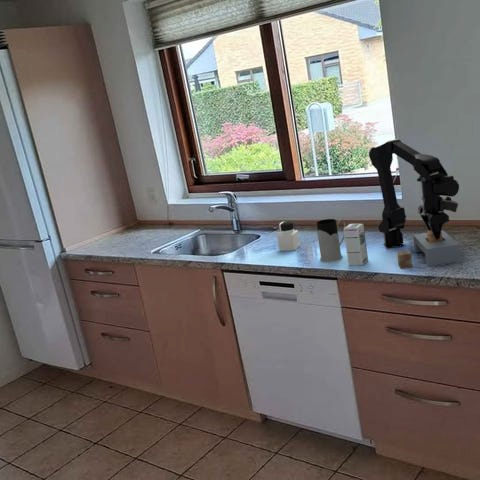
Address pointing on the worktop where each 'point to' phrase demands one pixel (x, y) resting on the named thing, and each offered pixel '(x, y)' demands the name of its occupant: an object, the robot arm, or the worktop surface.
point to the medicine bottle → (288, 237)
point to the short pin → (404, 259)
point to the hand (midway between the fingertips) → (434, 236)
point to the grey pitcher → (329, 240)
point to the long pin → (433, 237)
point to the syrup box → (355, 244)
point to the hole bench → (438, 249)
